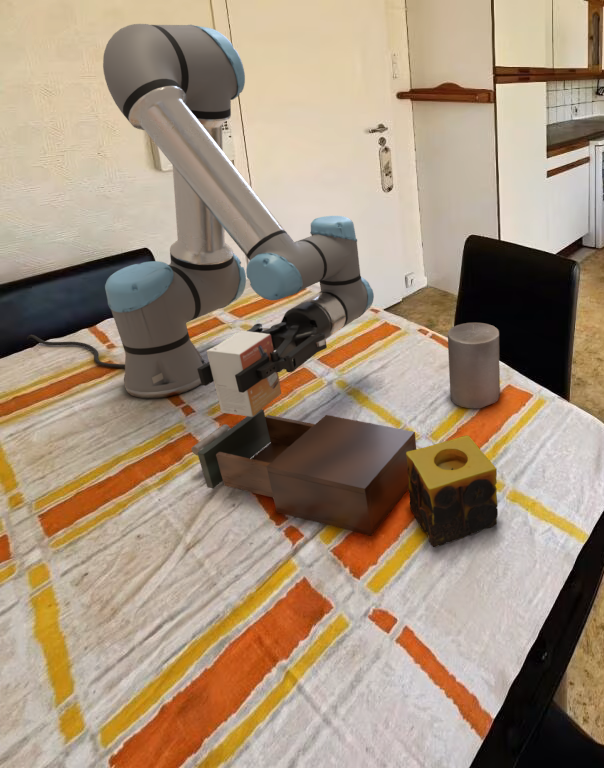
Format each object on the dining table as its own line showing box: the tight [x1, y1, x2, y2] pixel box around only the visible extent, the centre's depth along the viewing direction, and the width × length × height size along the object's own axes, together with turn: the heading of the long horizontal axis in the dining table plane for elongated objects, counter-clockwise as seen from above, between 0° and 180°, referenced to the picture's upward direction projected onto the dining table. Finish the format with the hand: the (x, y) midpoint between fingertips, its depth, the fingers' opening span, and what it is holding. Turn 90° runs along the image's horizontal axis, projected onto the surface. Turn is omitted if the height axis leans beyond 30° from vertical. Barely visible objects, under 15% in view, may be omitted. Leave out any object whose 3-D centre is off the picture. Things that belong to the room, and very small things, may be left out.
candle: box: [406, 434, 499, 548], centre depth 88 cm, size 10×10×10 cm
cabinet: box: [266, 414, 417, 537], centre depth 93 cm, size 16×15×8 cm
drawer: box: [190, 408, 316, 498], centre depth 98 cm, size 20×14×6 cm
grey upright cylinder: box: [447, 322, 501, 409], centre depth 118 cm, size 10×10×15 cm
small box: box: [206, 330, 282, 417], centre depth 94 cm, size 8×6×10 cm
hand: (220, 380), depth 89 cm, fingers closed on small box, 6 cm apart
